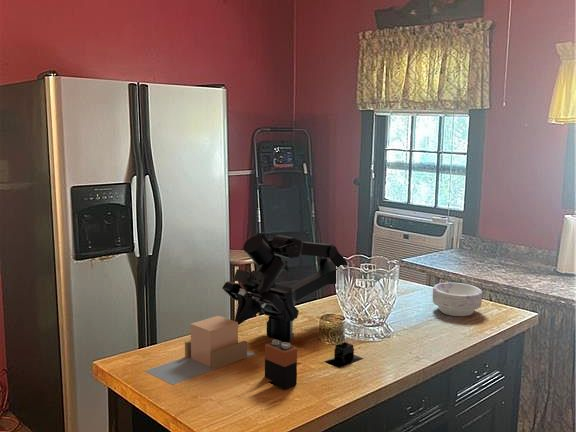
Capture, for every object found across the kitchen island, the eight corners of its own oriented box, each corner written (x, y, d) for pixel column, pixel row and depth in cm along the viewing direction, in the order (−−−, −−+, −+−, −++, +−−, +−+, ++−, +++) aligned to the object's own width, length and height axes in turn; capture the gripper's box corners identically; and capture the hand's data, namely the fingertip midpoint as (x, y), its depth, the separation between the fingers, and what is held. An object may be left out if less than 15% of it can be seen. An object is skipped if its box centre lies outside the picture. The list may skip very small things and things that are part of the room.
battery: (284, 390, 138) (284, 348, 137) (263, 381, 143) (263, 340, 142) (297, 385, 141) (298, 343, 140) (277, 376, 146) (277, 336, 145)
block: (218, 348, 160) (218, 315, 159) (238, 356, 155) (237, 322, 154) (191, 358, 153) (190, 323, 152) (210, 366, 148) (210, 331, 147)
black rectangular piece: (349, 352, 163) (350, 335, 163) (371, 360, 158) (371, 343, 157) (316, 364, 155) (317, 347, 154) (337, 373, 150) (338, 355, 149)
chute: (227, 347, 165) (226, 328, 164) (255, 358, 157) (255, 338, 156) (144, 375, 146) (144, 354, 145) (172, 389, 138) (172, 367, 138)
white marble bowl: (479, 322, 187) (480, 297, 186) (428, 316, 192) (429, 291, 191) (482, 308, 201) (484, 284, 200) (435, 303, 206) (436, 280, 205)
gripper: (227, 251, 166) (195, 299, 160) (277, 263, 154) (244, 315, 147) (248, 275, 173) (218, 321, 167) (297, 287, 160) (267, 338, 154)
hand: (236, 324), depth 158 cm, fingers closed
